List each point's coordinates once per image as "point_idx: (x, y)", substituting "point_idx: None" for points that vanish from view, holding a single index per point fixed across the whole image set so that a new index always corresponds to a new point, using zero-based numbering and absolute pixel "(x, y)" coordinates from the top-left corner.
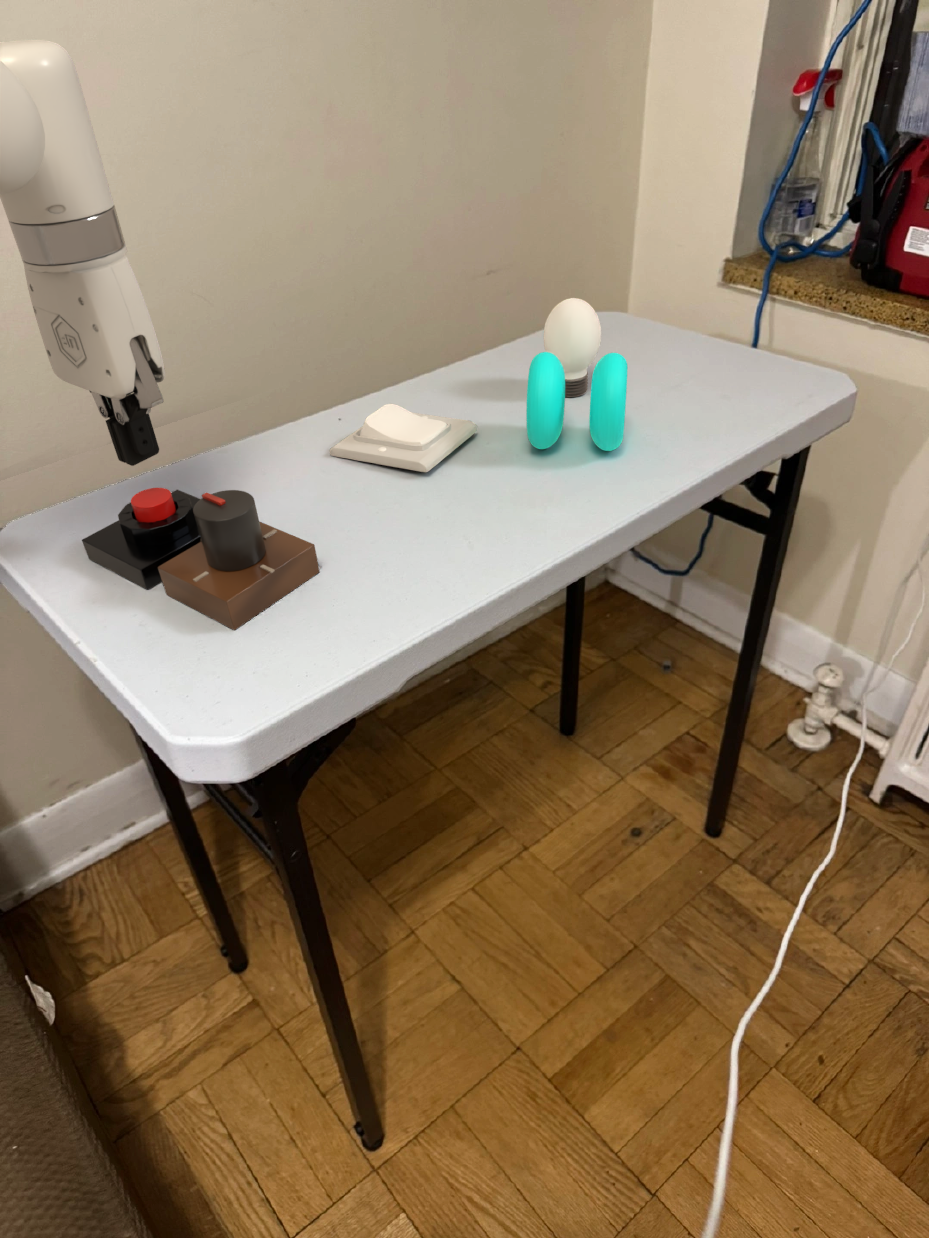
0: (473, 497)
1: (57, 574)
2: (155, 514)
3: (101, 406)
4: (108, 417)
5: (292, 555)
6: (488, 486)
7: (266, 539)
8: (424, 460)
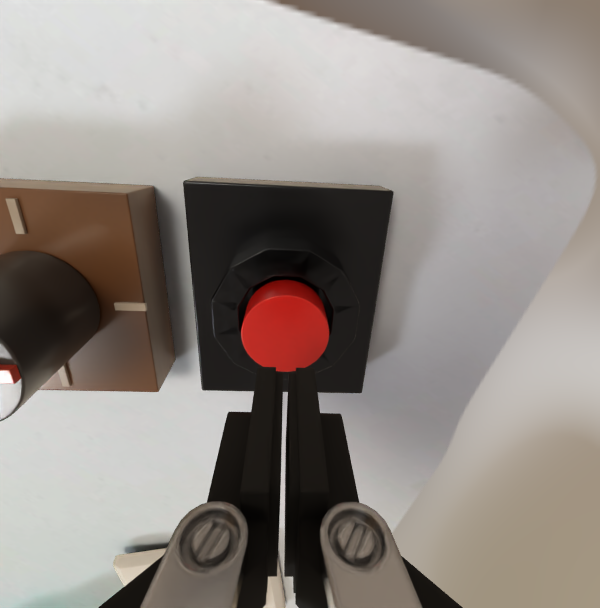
0: (40, 541)
1: (399, 114)
2: (249, 305)
3: (359, 571)
4: (334, 512)
5: None
6: (48, 560)
7: None
8: (119, 573)
